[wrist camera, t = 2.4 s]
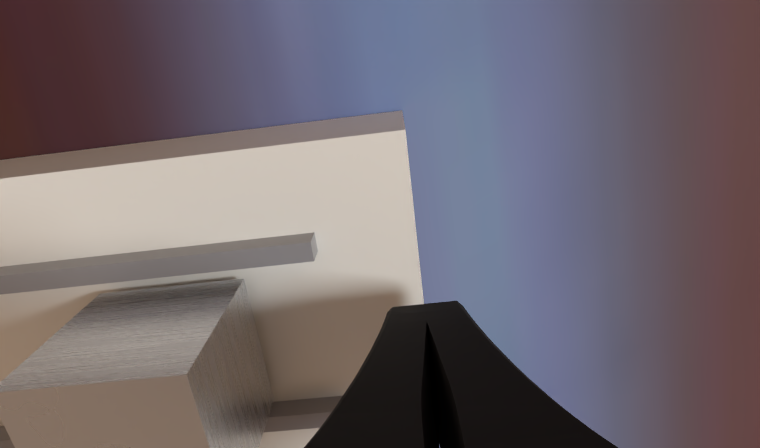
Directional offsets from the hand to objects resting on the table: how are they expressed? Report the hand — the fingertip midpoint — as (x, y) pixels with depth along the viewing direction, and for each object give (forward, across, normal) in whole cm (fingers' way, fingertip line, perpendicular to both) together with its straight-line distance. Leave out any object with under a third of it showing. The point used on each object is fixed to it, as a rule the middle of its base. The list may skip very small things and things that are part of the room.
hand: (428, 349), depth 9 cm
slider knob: (+1, +5, 0) cm, 5 cm away
